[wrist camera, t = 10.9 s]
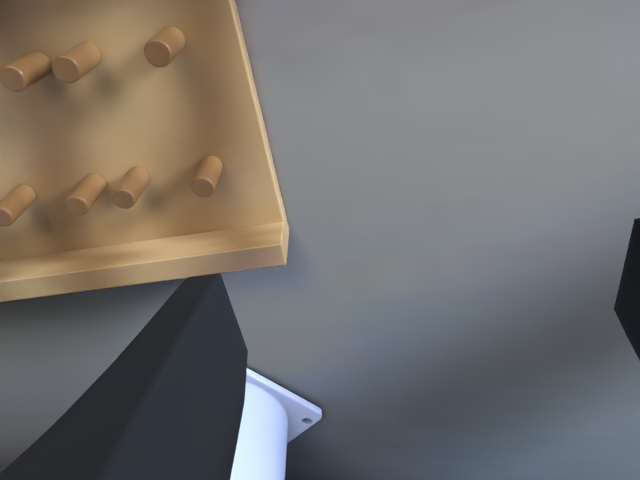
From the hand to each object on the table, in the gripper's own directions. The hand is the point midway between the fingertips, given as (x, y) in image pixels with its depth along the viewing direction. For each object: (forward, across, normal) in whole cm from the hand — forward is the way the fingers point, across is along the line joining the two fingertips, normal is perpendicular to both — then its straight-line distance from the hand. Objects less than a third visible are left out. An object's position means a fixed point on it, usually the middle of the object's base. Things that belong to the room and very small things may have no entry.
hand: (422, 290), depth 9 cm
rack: (+10, +12, -1) cm, 16 cm away
